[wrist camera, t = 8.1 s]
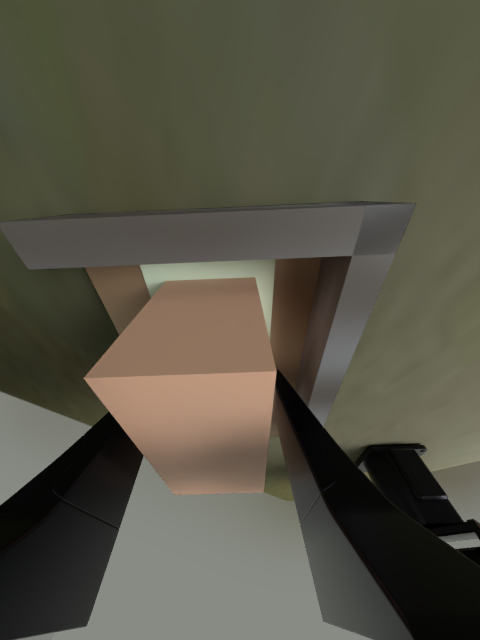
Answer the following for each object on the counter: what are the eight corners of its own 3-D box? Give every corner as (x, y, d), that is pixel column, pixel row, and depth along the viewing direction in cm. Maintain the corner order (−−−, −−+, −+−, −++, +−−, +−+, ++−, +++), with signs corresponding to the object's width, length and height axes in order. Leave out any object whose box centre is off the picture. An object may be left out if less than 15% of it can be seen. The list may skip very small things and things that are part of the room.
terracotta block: (255, 277, 9) (276, 371, 4) (254, 388, 14) (263, 492, 9) (166, 280, 9) (83, 378, 4) (196, 390, 14) (174, 494, 9)
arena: (298, 429, 19) (307, 463, 17) (174, 433, 19) (165, 468, 17) (361, 201, 8) (416, 203, 6) (68, 214, 8) (-5, 222, 6)
